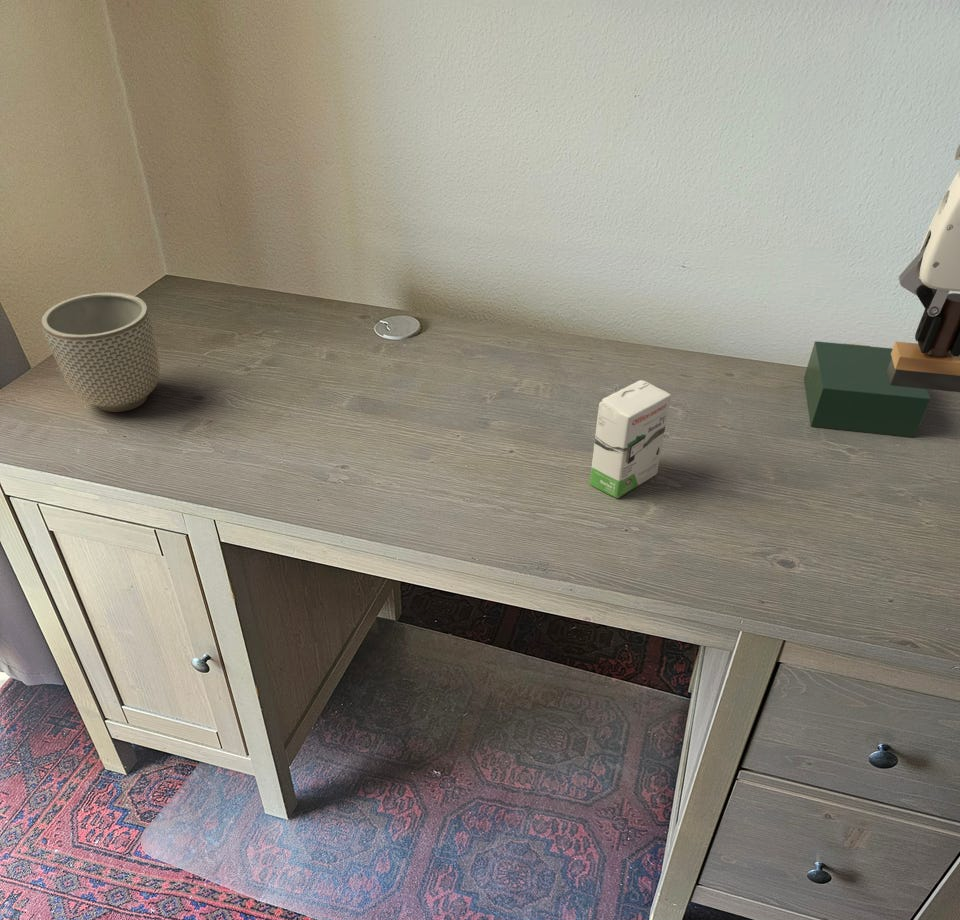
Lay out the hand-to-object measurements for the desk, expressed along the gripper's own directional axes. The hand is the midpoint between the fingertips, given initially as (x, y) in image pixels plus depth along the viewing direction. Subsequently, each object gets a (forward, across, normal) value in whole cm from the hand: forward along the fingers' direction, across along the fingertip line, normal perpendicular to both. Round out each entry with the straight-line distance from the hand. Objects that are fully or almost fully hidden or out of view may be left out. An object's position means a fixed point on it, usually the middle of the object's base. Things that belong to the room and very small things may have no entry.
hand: (938, 347), depth 93 cm
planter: (+22, -104, +4) cm, 107 cm away
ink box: (+22, -31, 0) cm, 38 cm away
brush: (+4, 0, 0) cm, 4 cm away
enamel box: (+21, +1, +25) cm, 33 cm away
